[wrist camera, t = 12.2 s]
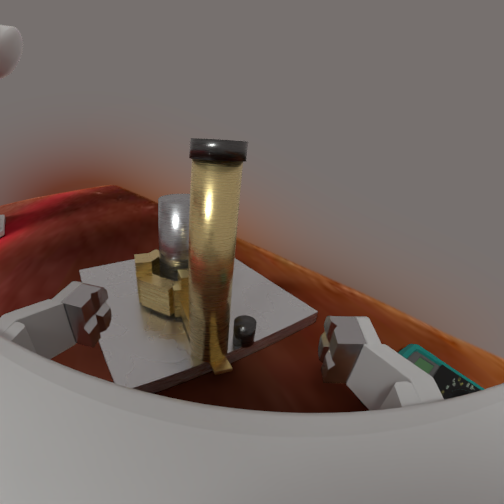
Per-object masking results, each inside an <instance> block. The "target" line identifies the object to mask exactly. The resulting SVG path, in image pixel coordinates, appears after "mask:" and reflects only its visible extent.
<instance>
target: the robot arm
mask: <svg viewBox="0 0 504 504" xmlns="http://www.w3.org/2000/svg"><path fill="white" fill-rule="evenodd" d="M22 50H23V40H22V35H21V33H20V32H19V30H18V29H17V28H15V27H12V26H4V25H0V79H2V78H4V77H5V76H7V75H9V74H10V73H12V71H13V70H14V69H15V67H16V66H17V64H18V62H19V60H20V57H21V54H22ZM4 234H5V216H4V215H0V237H1V236H3V235H4ZM107 300H108V293H107V290H106V289H105V288H104V287H100V286H95V285H91V284H86V283H82V282H77V281H72V282H71V283H70V284H69V285H68V286H67V287H65V288H64V289H63V290H62V291H61V292H60V293H59V294H57V295H56V296H55V297H54V298H53V299H52V300H50V299H48V300H45V301H42V302H39V303H36V304H33V305H30V306H27V307H24V308H21V309H18V310H15V311H12V312H9V313H7V314H4V315H3V316H2V317H1V318H0V504H504V383H502V384H500V385H497V386H494V387H491V388H487V389H484V390H481V391H477V392H474V393H470V394H466V395H462V396H458V397H454V398H450V399H445V400H444V398H443V396H442V394H441V392H440V390H439V388H438V386H437V384H436V382H435V380H434V378H433V377H432V376H430V375H429V374H427V373H426V372H425V371H423V370H422V369H420V368H419V367H417V366H416V365H414V364H413V363H411V362H410V361H409V360H407V359H406V358H404V357H403V356H401V355H400V354H398V353H397V352H395V351H394V350H393V349H391V348H390V347H388V346H387V345H385V344H381V342H380V340H379V338H378V336H377V334H376V331H375V329H374V327H373V325H372V323H371V321H370V319H369V318H368V317H346V316H327V318H326V319H325V323H324V328H325V332H324V333H323V334H322V335H321V337H320V341H319V347H318V356H319V361H321V362H322V363H323V364H322V367H321V373H322V378H323V383H347V384H346V385H347V386H348V387H349V388H350V389H351V390H352V391H353V393H354V394H355V395H356V396H357V397H358V398H359V399H360V400H361V401H362V402H363V404H364V405H365V406H366V407H367V408H368V409H369V410H370V411H358V412H339V413H291V412H271V411H257V410H247V409H237V408H229V407H221V406H214V405H208V404H201V403H196V402H190V401H185V400H180V399H175V398H170V397H165V396H161V395H157V394H152V393H148V392H144V391H140V390H137V389H133V388H129V387H126V386H122V385H119V384H116V383H112V382H109V381H106V380H103V379H100V378H97V377H94V376H91V375H88V374H85V373H82V372H80V371H77V370H74V369H72V368H69V367H67V366H64V365H62V364H59V363H57V362H54V361H52V360H50V359H51V358H53V357H55V356H56V355H58V354H60V353H62V352H63V351H65V350H67V349H68V348H70V347H72V346H73V345H75V344H76V343H78V344H81V345H85V346H88V347H92V348H93V347H94V346H95V345H96V343H97V342H98V341H99V339H100V338H101V334H100V333H101V332H103V331H106V330H107V328H108V327H109V326H110V322H111V308H110V306H109V305H108V304H107V302H106V301H107Z"/></svg>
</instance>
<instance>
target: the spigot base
mask: <svg viewBox="0 0 504 504" xmlns="http://www.w3.org/2000/svg"><path fill="white" fill-rule="evenodd" d="M158 201H159V202H158V227H159V263H160V276H161V277H164V278H167V279H170V280H173V281H178V270H180V269H188V261H189V211H190V194H172V195H165V196H162V197H160V198H159V199H158ZM79 272H80V277H81V282H82V283H86V284H91V285H95V286H100V287H104V288H105V289H106V290H107V293H108V300H107V301H106V302H107V304H108V305H109V306H110V308H111V322H110V326H109V327H108V328H107V330H106V331H103V332H101V333H100V334H101V338H100V339H99V344H100V347H101V350H102V353H103V355H104V358H105V361H106V363H107V366H108V369H109V371H110V374H111V376H112V378H113V381H114V383H116V384H119V385H122V386H126V387H129V388H133V389H137V390H140V391H144V392H148V393H152V394H153V393H156V392H158V391H161V390H164V389H167V388H170V387H172V386H175V385H178V384H180V383H183V382H186V381H188V380H191V379H193V378H196V377H198V376H201V375H203V374H206V373H208V372H211V371H213V372H214V374H215V375H218V374H222V373H226V372H230V371H232V367H231V365H230V363H232V362H234V361H236V360H239V359H241V358H243V357H245V356H248V355H250V354H252V353H254V352H256V351H258V350H261V349H263V348H265V347H267V346H269V345H271V344H273V343H275V342H277V341H279V340H281V339H283V338H285V337H287V336H289V335H291V334H293V333H295V332H297V331H299V330H301V329H303V328H305V327H307V326H309V325H310V324H312V323H314V322H315V321H316V317H317V313H318V311H316V310H315V309H313V308H312V307H310V306H308V305H307V304H305V303H304V302H302V301H301V300H299V299H297V298H296V297H294V296H293V295H291V294H290V293H288V292H286V291H285V290H283V289H282V288H280V287H279V286H277V285H276V284H274V283H272V282H271V281H269V280H268V279H266V278H265V277H263V276H262V275H260V274H259V273H257V272H255V271H254V270H252V269H251V268H249V267H248V266H246V265H245V264H243V263H242V262H240V261H239V260H237V259H235V258H234V270H233V283H232V296H231V310H230V324H229V339H228V352H227V355H226V356H225V357H224V358H223V359H221V360H219V361H216V362H203V361H200V360H198V359H196V358H195V357H194V356H193V355H192V353H191V350H190V338H189V335H188V333H187V330H186V327H185V325H184V322H183V320H182V317H181V316H179V317H175V315H174V313H173V314H172V315H171V316H167V315H165V314H162V313H160V312H157V311H155V310H153V309H150V308H148V307H145V306H143V305H142V303H141V302H140V303H139V296H138V289H137V281H136V270H135V259H133V260H128V261H122V262H117V263H112V264H107V265H102V266H97V267H92V268H87V269H82V270H79Z"/></svg>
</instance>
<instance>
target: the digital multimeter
mask: <svg viewBox="0 0 504 504" xmlns="http://www.w3.org/2000/svg"><path fill="white" fill-rule="evenodd" d="M398 354H400V355H401V356H403V357H404V358H406V359H407V360H409V361H410V362H411V363H413V364H414V365H416V366H417V367H419V368H420V369H422V370H423V371H425V372H426V373H427V374H429V375H430V376H432V377H433V378H434V380H435V382H436V384H437V386H438V388H439V390H440V392H441V394H442V396H443V398H444V400H445V399H450V398H454V397H458V396H462V395H466V394H470V393H474V392H477V391H481V390H484V388H482V387H480V386H479V385H477V384H476V383H474V382H473V381H471V380H470V379H468V378H467V377H465V376H464V375H462V374H461V373H459V372H458V371H456V370H455V369H453V368H452V367H450V366H449V365H447V364H446V363H444V362H443V361H441V360H440V359H438V358H437V357H436V356H434V355H433V354H431V353H430V352H428V351H427V350H425V349H424V348H422V347H421V346H419V345H417V344H409V345H407V346H406V347H405V348H403V349H402V350H401V351H399V352H398ZM360 401H361V400H360ZM361 402H362V401H361ZM362 403H363V402H362Z"/></svg>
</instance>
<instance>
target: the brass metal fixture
mask: <svg viewBox="0 0 504 504" xmlns="http://www.w3.org/2000/svg"><path fill="white" fill-rule="evenodd" d="M247 146H248V142H243V141H230V140H215V139H193V138H191V142H190V158H191V159H192V170H191V188H190V211H189V261H188V269H180V270H178V281H173V280H170V279H167V278H164V277H161V276H160V263H159V250H156V249H155V250H154V251H152V252H150V253H145V254H134V257H135V270H136V281H137V289H138V296H139V303H140V302H141V303H142V305H143V306H145V307H148V308H150V309H153V310H155V311H157V312H160V313H162V314H165V315H167V316H171V315H172V314H173V313H174V315H175V317H179V316H181V317H182V320H183V322H184V325H185V327H186V330H187V333H188V335H189V338H190V350H191V353H192V355H193V356H194V357H195V358H196V359H198V360H200V361H203V362H216V361H219V360H221V359H223V358H224V357H225V356H226V355H227V352H228V339H229V324H230V310H231V296H232V283H233V270H234V258H235V245H236V233H237V221H238V210H239V198H240V188H241V178H242V167H243V161H246V156H247Z"/></svg>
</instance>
